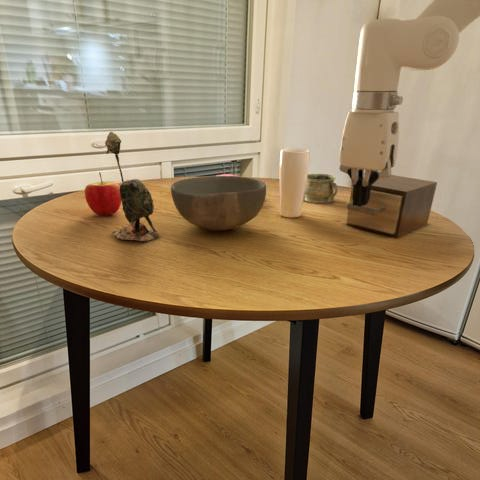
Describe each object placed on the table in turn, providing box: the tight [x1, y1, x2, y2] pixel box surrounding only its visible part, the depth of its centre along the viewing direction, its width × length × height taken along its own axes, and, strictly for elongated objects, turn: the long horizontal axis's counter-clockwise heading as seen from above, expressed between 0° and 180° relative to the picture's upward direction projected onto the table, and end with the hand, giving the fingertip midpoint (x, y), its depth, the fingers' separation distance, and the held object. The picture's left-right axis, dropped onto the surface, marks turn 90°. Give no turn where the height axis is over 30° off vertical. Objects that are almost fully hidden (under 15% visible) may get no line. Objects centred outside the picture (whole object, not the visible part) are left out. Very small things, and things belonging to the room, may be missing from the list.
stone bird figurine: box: [104, 131, 159, 242], centre depth 82 cm, size 8×11×20 cm
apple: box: [84, 172, 122, 217], centre depth 99 cm, size 8×8×10 cm
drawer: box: [346, 186, 403, 234], centre depth 93 cm, size 18×11×8 cm, turn 135°
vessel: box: [303, 173, 339, 204], centre depth 117 cm, size 12×9×6 cm
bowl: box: [170, 175, 267, 232], centre depth 91 cm, size 20×20×10 cm
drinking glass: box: [278, 147, 311, 219], centre depth 100 cm, size 7×7×15 cm
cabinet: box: [346, 174, 438, 239], centre depth 96 cm, size 15×13×10 cm
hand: (360, 204), depth 86 cm, fingers closed
